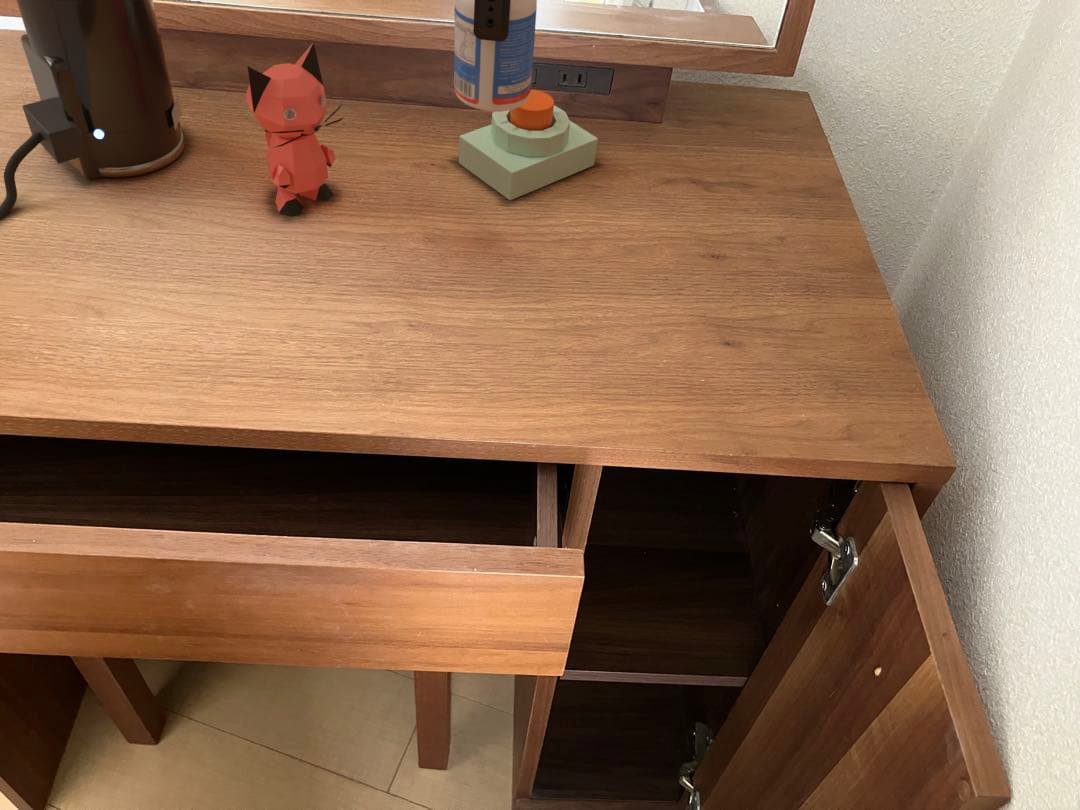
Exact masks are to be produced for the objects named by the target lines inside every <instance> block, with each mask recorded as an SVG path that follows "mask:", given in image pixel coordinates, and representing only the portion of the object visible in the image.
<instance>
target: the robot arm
mask: <svg viewBox="0 0 1080 810" xmlns="http://www.w3.org/2000/svg"><path fill="white" fill-rule="evenodd" d="M15 1H16V4H17V7H18V10H19V14H20V16H21V19H22V22H23V26H24V30H25V32H26V33H25V34H22V35H21V36H20V42H21V45H22V48H23V51H24V54H25V57H26V60H27V63H28V66H29V68H30V72H31V75H32V78H33V81H34V84H35V87H36V90H37V93H38V97H39V99H40V100H39V101H34V102H30V103H26V104H23V105H22V110H23V112H24V116H25V119H26V121H27V124H28V127H29V130H30V133H31V135H30V137H28V139H26V140H25V142H23V143H22V144H21V145H20V146H19V147H18V148H17V149H16V150H15V151H14V152H13V154H11V156H10V158H9V159H8V160H7V163H6V165H5V168H4V171H3V181H4V187H5V193H6V194H5V198H4V200H3V201H2V202H1V204H0V221H2V219H4V218H5V217H6V216H8V214H10V212H11V211H12V209H13V208H14V206H15V204H16V202H17V199H18V189H17V185H16V178H15V177H16V172H17V170H18V168H19V166H20V164H21V163H22V161H23V160H24V159H25V158H26V157H27V156H28V155H29V154H30V153H31V152H32V151H33V150H34V149H35V148H37V146H39V144H40V145H41V146H42V147H43V148H44V149H45V150H46V152H47V153H48V154H49V155H50V156H51V157H52V158H53V159H54V160H55V162H56V163H58V164H62V163H66V162H68V163H69V164H70V165H71V166H72V167H73V168H75V169H76V170H77V172H78V173H79V174H81V176H82V177H83V178H84V179H85V180H93V179H97V178H100V177H109V178H122V177H123V178H124V177H133V176H138V175H140V176H141V175H144V174H148V173H151V172H154V171H157V170H159V169H162V168H164V167H166V166H169V164H171V163H173V162H174V161H175V160H177V158H179V156H181V154H182V152H183V151H184V148H185V144H186V143H185V142H186V141H185V136H184V132H183V128H182V127H181V122H180V119H181V116H182V111H181V105H180V101H179V98H178V96H176V100H175V96H174V92H173V88H172V87H173V86H172V83H171V77H170V74H169V68H168V65H167V64H168V63H167V60H166V55H165V50H164V46H163V41H162V37H161V32H160V28H159V23H158V19H157V15H156V14H157V13H156V9H155V5H154V0H15ZM510 5H511V0H475V3H474V30H473V32H474V35H475V36H476V37H477V38H478V39H481V40H490V41H499V42H502V41H505V40H506V39H507V37H508V32H509V21H510Z"/></svg>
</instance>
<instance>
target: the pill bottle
mask: <svg viewBox="0 0 1080 810" xmlns="http://www.w3.org/2000/svg"><path fill="white" fill-rule="evenodd" d="M474 3H475V0H454V8H453V10H454V12H453V13H454V15H453V16H454V21H453V22H454V23H453V25H454V26H453V27H454V28H453V30H454V33H453V37H454V38H453V39H454V41H453V48H454V49H453V50H454V52H453V55H454V56H453V60H454V61H453V64H454V65H453V87H454V93H455V95H456V97H457V98H458V99H459V101H461V102H462V103H464V105H467V106H469V107H471V108H474V109H476V110H481V111H486V112H500V111H508V110H512V109H515V108H518V107H520V106H521V105H523V104H524V103H525V102H526V101H527V100H528V99H529V96H530V92H531V90H532V81H533V80H532V78H533V64H534V51H535V38H536V25H537V24H536V23H537V22H536V20H537V9H538V8H537V6H538V4H537V3H538V0H511V5H510V21H509V32H508V37H507V39H506V40H505V41H502V42H499V41H490V40H481V39H478V38H477V37H476V36H475V35H474V32H473V30H474Z"/></svg>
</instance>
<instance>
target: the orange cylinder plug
mask: <svg viewBox="0 0 1080 810" xmlns="http://www.w3.org/2000/svg"><path fill="white" fill-rule="evenodd" d="M554 105H555V100H554V98H553V97H552V96H551V95H550V94H548V93H547V92H545V91H542V90H536V89H531V92H530V96H529V99H528V100H527V101H526V102H525V103H524V104H523V105H521V106H520V107H518V108H515V109H512V110H511V113H510V122H511V124H513V125H514V126H516V127H517V128H520V129H524V130H528V131H543V130H545V129H548V128H550V127H551V125H552V118H553V109H554Z"/></svg>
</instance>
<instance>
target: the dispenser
mask: <svg viewBox="0 0 1080 810" xmlns="http://www.w3.org/2000/svg"><path fill="white" fill-rule="evenodd" d="M510 113H511V110H508V111H500V112H494V111H492V113H491V124H489V125H486V126H482V127H480V128H477V129H474V130H471V131H469V132H465V133H464V134H461V135H459V139H458V140H459V141H458V164H459V165H460V166H462V167H463V168H465V169H466V170H467V171H469V172H470V173H471V174H473V175H474V176H475V177H477V178H478V179H480V181H482V182H484V183H485V184H486V185H488V186H489V187H491V188H492V189H493V190H495V191H496V192H497V193H499V194H500V195H502V196H503V197H504V198H505V199H506V200H509V201H512V200H515V199H517V198H519V197H522V196H524V195H527V194H529V193H531V192H534V191H536V190H538V189H541V188H543V187H546V186H548V185H550V184H552V183H555V182H558V181H560V180H562V179H564V178H565V179H566V178H567V177H570V176H572V175H574V174H577V173H579V172H581V171H584V170H586V169H588V168H591V167H593V166H595V161H596V155H597V149H598V143H599V142H598V141H599V138H598V137H597V136H595V135H593V134H592V133H590V132H589V131H587V130H585V129H584V128H582V127H581V126H579V125H577V124H576V123H575V122H573V121H571V120H570V119H569V117H568V114H567V112H566V111H564V110H563V109H561V108H560V107H558V106H557V105H555V104H554V109H553V118H552V125H551V127H550V128H548V129H545V130H543V131H528V130H524V129H520V128H517V127H516V126H514V125H513V124H511V122H510Z"/></svg>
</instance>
